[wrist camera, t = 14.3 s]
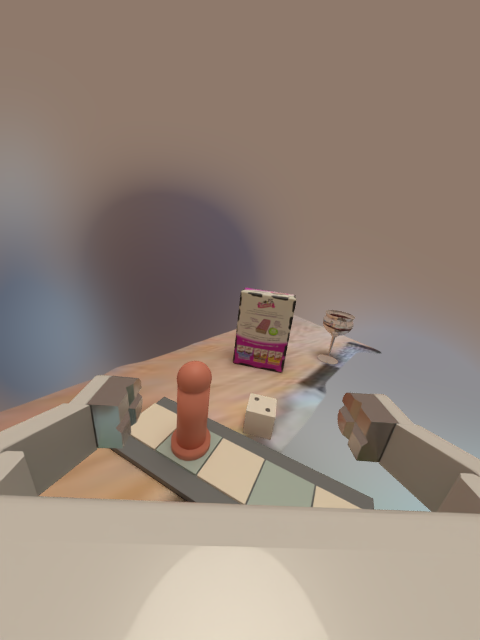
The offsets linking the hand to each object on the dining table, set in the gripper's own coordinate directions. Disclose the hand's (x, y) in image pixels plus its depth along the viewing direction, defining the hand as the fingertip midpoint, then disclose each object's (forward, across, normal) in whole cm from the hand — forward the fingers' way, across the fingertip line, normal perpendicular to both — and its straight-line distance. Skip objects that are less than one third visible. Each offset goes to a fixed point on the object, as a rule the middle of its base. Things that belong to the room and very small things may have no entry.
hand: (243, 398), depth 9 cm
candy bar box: (+38, -7, +21) cm, 43 cm away
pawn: (+14, +4, +19) cm, 24 cm away
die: (+19, -5, +20) cm, 28 cm away
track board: (+11, -1, +20) cm, 23 cm away
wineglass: (+42, -25, +21) cm, 54 cm away
